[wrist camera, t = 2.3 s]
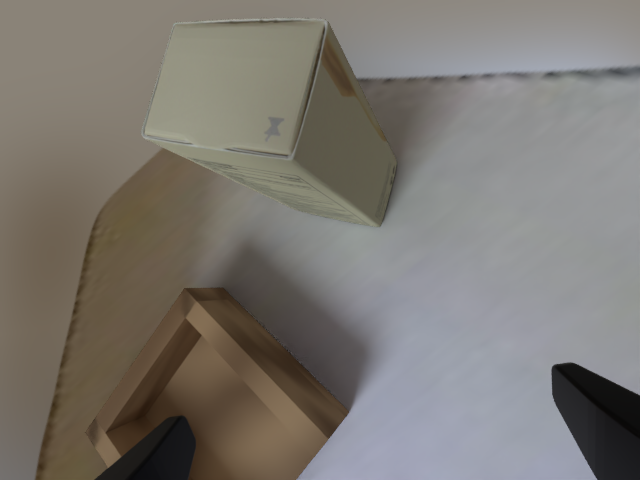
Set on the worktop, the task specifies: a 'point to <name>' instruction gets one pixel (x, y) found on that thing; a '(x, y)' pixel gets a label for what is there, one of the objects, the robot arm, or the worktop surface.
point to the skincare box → (274, 115)
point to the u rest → (220, 394)
